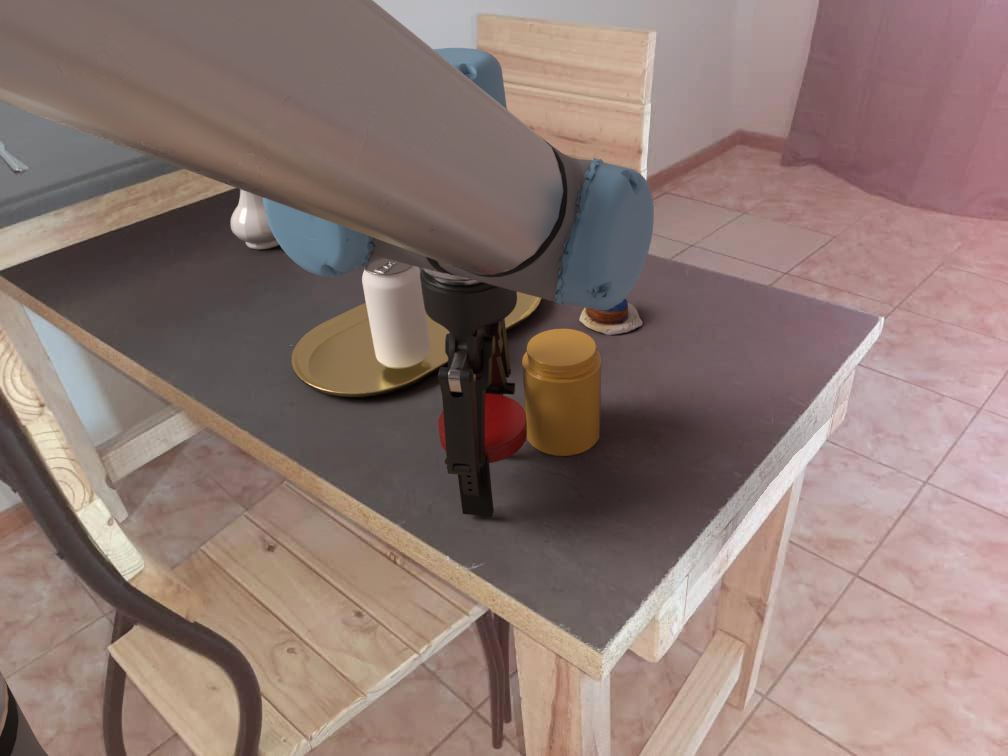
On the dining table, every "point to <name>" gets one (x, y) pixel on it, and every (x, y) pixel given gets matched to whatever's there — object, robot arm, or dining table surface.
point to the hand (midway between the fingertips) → (487, 480)
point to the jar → (562, 392)
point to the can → (396, 312)
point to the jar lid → (499, 427)
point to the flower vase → (252, 222)
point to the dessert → (612, 319)
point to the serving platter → (372, 354)
